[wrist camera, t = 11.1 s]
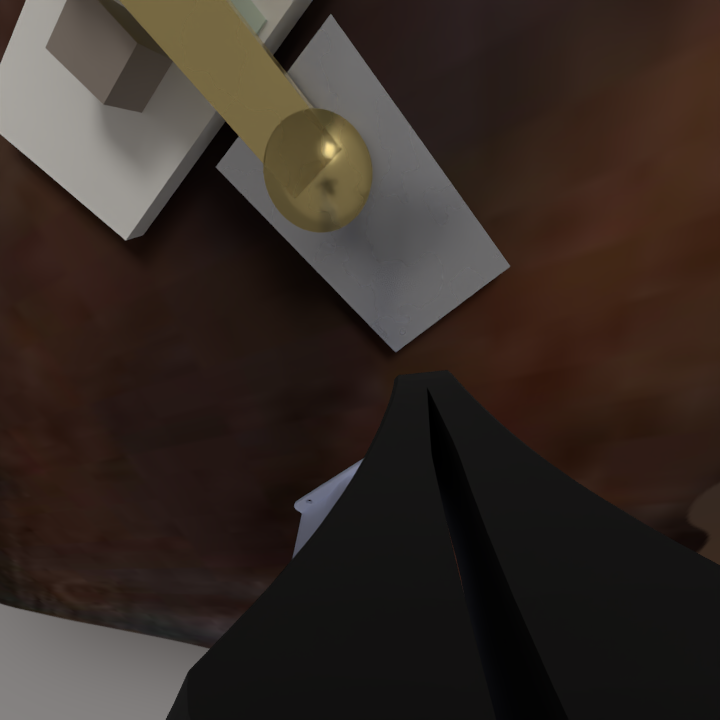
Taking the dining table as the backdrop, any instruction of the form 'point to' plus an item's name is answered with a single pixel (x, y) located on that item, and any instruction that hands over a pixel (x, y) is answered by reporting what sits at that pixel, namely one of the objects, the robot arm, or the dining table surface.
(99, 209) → the door board
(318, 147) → the latch arm
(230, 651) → the robot arm
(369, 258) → the plate
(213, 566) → the dining table surface
